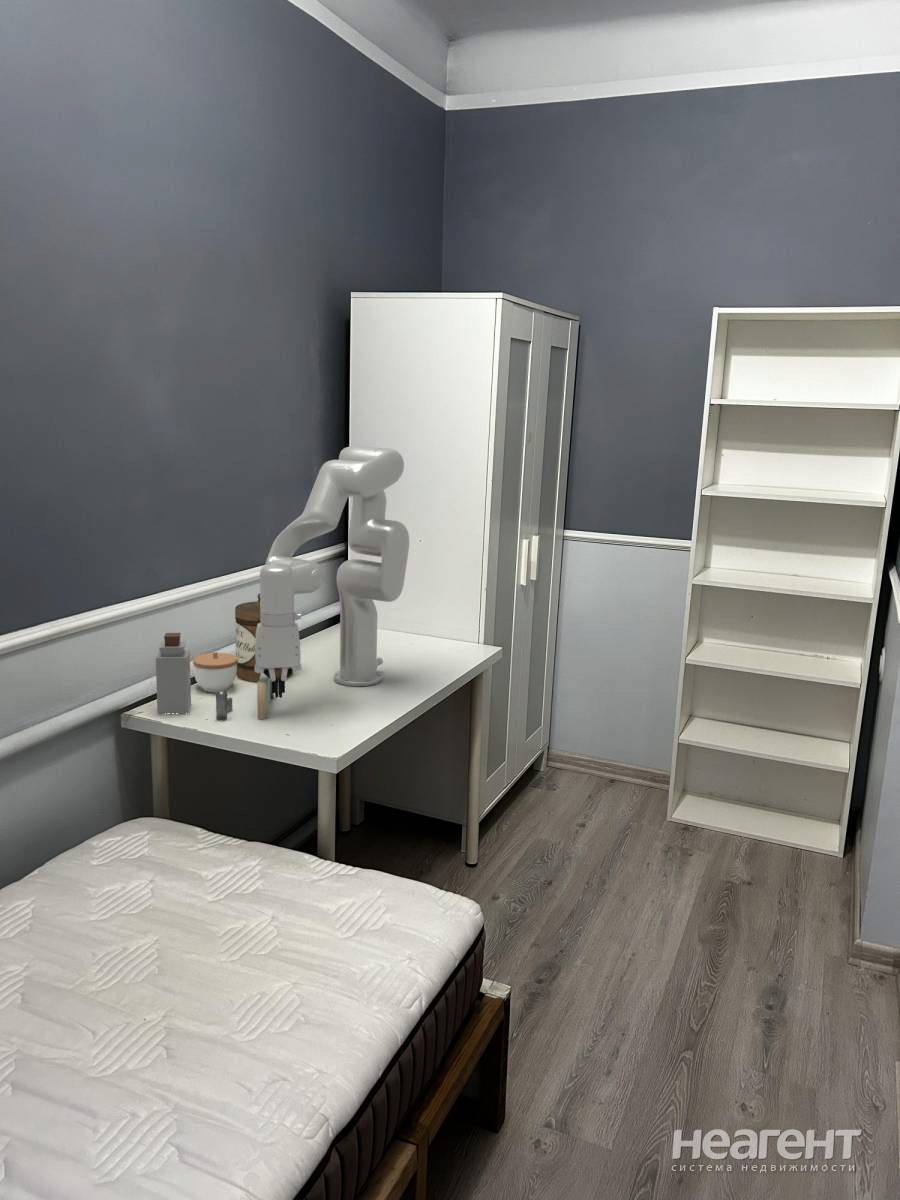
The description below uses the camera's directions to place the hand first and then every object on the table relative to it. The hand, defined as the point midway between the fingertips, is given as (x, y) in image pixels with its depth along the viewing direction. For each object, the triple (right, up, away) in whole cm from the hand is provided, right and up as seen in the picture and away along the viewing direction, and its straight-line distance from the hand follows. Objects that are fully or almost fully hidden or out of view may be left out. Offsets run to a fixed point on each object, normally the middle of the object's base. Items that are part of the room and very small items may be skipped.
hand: (278, 695), depth 216 cm
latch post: (-12, -4, -1) cm, 13 cm away
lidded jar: (-19, 0, +17) cm, 25 cm away
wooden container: (-9, +2, +30) cm, 31 cm away
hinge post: (-5, -2, +12) cm, 13 cm away
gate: (-4, -3, +3) cm, 6 cm away
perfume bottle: (-24, -4, +1) cm, 25 cm away
